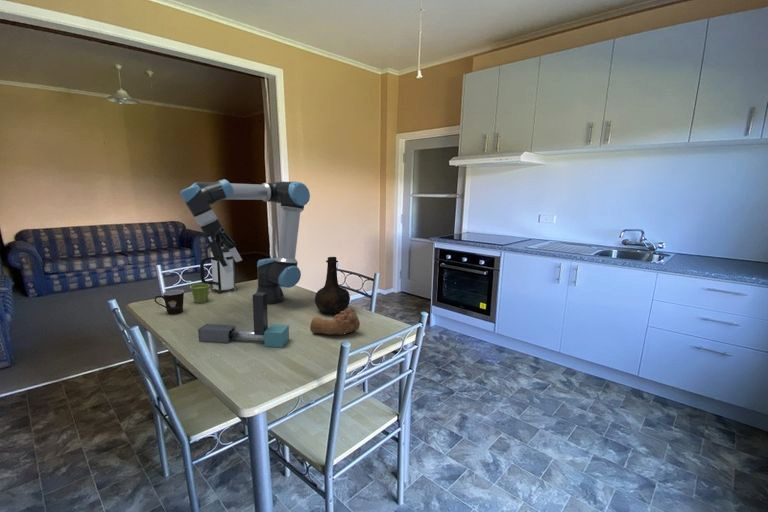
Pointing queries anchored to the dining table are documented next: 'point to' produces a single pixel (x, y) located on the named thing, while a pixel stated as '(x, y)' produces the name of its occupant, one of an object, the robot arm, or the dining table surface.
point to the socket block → (276, 335)
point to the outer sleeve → (215, 333)
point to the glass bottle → (332, 292)
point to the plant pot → (200, 292)
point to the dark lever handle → (255, 319)
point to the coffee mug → (173, 301)
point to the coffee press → (220, 272)
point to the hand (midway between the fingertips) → (234, 266)
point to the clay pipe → (336, 323)
